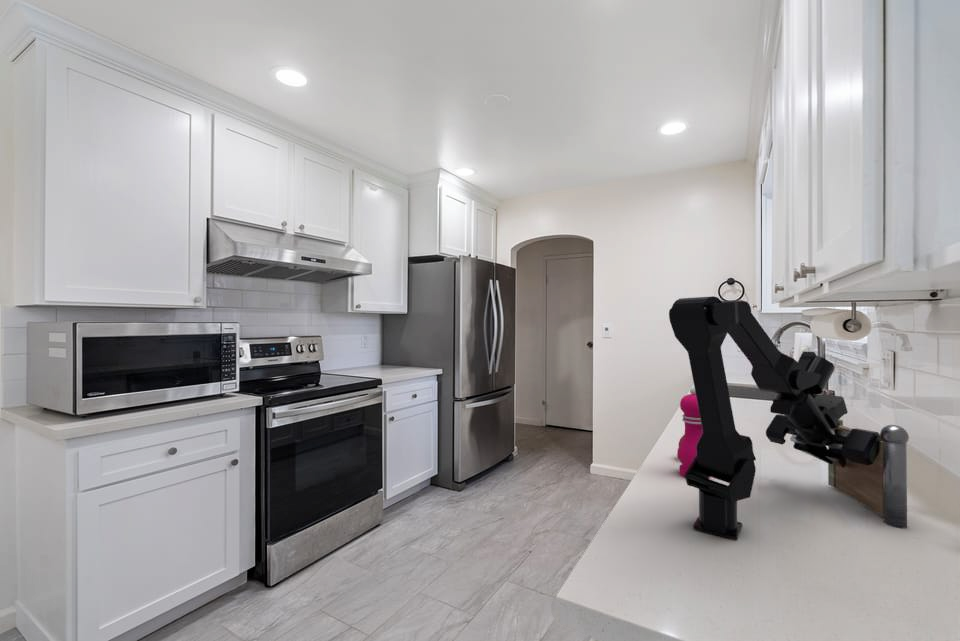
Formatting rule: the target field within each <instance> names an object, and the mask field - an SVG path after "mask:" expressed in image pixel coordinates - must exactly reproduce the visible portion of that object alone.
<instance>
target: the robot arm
mask: <svg viewBox="0 0 960 641" xmlns="http://www.w3.org/2000/svg"><path fill="white" fill-rule="evenodd" d="M668 319H669V322H670V326H671V329H672V332H673V334H674V337H675V339H676V340H677V341H678V342H679V343H680V344H681V346H682V347H683V348H684V349H685V350H686V352H687V355H688V359H689V365H690V370H691V375H692V381H693V386H694V387H695V392H696V398H697V403H698V408H699V413H700V419H701V424H702V429H703V433H702V435H701V437H700V439H699V441H698V443H697V445H696V452H697V456H696V457H695V459H694V460H693V462H692V464H691V465H690V467H689V469H688V470H687V472H686V473H685V477H684V478H685V482H686V484H687V486H689V487H693V488H695V489H698V517H697V519H696V520H695V521H694V523H693V526H692V527H693V528H692V529H694V530H697V531H700V532H704V533H708V534H711V535H716V536H720V537H724V538H728V539H732V540H738V539H739V536H740V533H741V530H742V529H743V528H742V527H743V523H742V522H740V521H738V502H739V501H742V500H746V499H749V498H750V497H751V495H752V490H753V486H754V481H755V477H756V464H755V461H756V460H757V459H756V456H755V453H754V449H753V448H754V447H753V440H752V439H751V437H750V436H748V435H743V434H740V432H738V431H737V429H736V425H735V419H734V413H733V408H732V402H731V397H730V392H729V387H728V379H727V376H726V370H725V364H724V360H723V354H722V346H723V343H724V341H725V340H726V338H727V337H726V336H727V335H729V337H730V338H731V339H732V340H733V341H734V343H735V345H736V346H737V347H738V348H739V350H740V351H741V352H742V354H743V355H744V356H745V358H746V359H747V361H748V362H749V363H750V364H751V367H752V368H751V373H750V375H751V377H752V379H753V380H754V383H755V384H756V387H757V388H758V389H759V390H760V391H761V392H767V393H773V394H775V395H774V398H773V399H772V404H771V405H770V409H769V410H770V413H772V414H776V415H775V416H774V417H773V418H772V420H771V421H770V423H769V424H768V427H766V430H765V436H766V438H767V439H768V440H769V442H770V443H773V444H779V445H785V443H786V442H787V441H786V439H785V437H786V435H787V434H788V435H791V436H790V438H789V440H790V441H791V442H793V443H794V444H793V448H794V449H795V450H797V451H800V452H803V453H804V454H807V455H809V456H811V457H814V458H816V459H818V460H820V461H823V462H825V463H826V464H827V465H828V464H831V465H832V464H833V462H834V463H836V464H837V465H839V466H841V467H843V468H844V467H845V465H846V459H848V460H850V461H851V462H856V463H860V464H864V465H871V464H873V463H874V461H875V459H876V457H877V455H878V453H879V451H880V445H879V441H883V440H882V438H881V436H880V433H879V432H878V431H873V430H868V429H862V428H851V429H852V430H851V432H849V431H847V430H841V429H838V427H839V426H840V423H839V421H838V419H840V420H841V418H842V417H843V416H844V415H847V414H848V408H847V405H846V401H845V398H844V397H843V396H840V395H831V394H826V393H825V394H824V393H823V392H824V390H825V388H826V386H827V385H828V382H829V380H830V379H831V377H832V375H833V374H834V371H835V368H836V367H835V366H834V364H833V363H832V362H830V361H829V360H828V359H826V358H825V357H823V356H819V355H817V354H816V353H815V351H807V350H806V351H802V353H801V354H800V357H799V360H798V361H797V360H796V358H794V357H792V356H789V355H787V354H785V353H783V352H782V351H780V350H779V349H778V348H777V346H776V344H775V343H774V342H773V341H772V339H771V338H770V337H769V335H768V334H767V332H766V331H765V330H764V328H763V327H762V326H761V324H760V323H759V321H758V320H757V318H756V316H754V314H753V313H752V307H751V305H750V303H749V302H747V301H745V300H742V299H736V300H735V299H732V300H731V299H730V300H728V299H727V300H721V299H720V298H719V297H718V296H715V295H714V296H700V297H699V296H698V297H683V298H678V299H677V300H675V301H674V303H673V304H672V306H671V307H670V308H669V311H668ZM822 393H823V394H822ZM835 428H836V429H835ZM834 429H835V430H834ZM828 446H829V450H828ZM709 476H710V478H713V479H710V478H709ZM708 478H709V479H708ZM714 479H715V480H719V481H722V482H725V483H727V484H724V483H722V482H718V481H715V480H714Z"/></svg>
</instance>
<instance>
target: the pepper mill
mask: <svg viewBox="0 0 960 641" xmlns="http://www.w3.org/2000/svg"><path fill="white" fill-rule="evenodd" d="M689 391H690V393H689V394H686V395H684V396H683V397H682V398H681V400H680V402H679V408H680V410H681V411H682V412H683V415H682V422H684V434H683V435H684V437H683V439H682V441H681V443H680V445H679V444H678V445H679V446H678V448H677V452H676V453H677V454H676V456H677V459H678V460H679V462H680V463H681V464H680V465H679V475H680V476H682V477H684V478H685V473H686V472H687V470H688V469H689V467H690V465H691V464H692V462H693V460H694V459H695V457H696V456H697V452H696V445H697V443H698V441H699V439H700V437H701V435H702V433H703V429H702V424H701V419H700V413H699V408H698V403H697V398H696V392H695V387H693V386H692V388H690V390H689ZM710 478H711V477H710V476H709V478H708V479H710Z"/></svg>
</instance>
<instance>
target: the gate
mask: <svg viewBox="0 0 960 641" xmlns="http://www.w3.org/2000/svg"><path fill="white" fill-rule="evenodd" d="M838 421H839V423H840V426H839V427H838V429H841V430H847V431H849V432H851V430H852V429H853V428H850V427H848V426H844V421H843V420H842V419H841V418H840V419H838ZM835 429H836V428H835ZM835 429H834V430H835ZM879 445H880V451H879V453H878V455H877V457H876V459H875V461H874V463H873V464H871V465H864V464H860V463H856V462H851V461H850V460H848V459H846V465H845V467H844V468H843V467H841V466H839V465H837V464H836V463H834V462H833V464H832V465H831V464H828V463H827V469H828V476H827V477H828V478H827V479H828V480H827V481H828V482H827V483H828V486H830V487H831V488H832V489H833V488H834V489H836V490H838V491H840V492H842V493H843V494H845V495H847V496H848V497H850V498H851V499H853V500H855V501H856V502H859V503H861V504H862V505H864V506H866V507H867V508H869V509H870V510H872V511H873V512H876V513H878V514H879V515H880V516H882V517H883V441H879ZM827 449H828V450H829V446H827Z"/></svg>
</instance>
